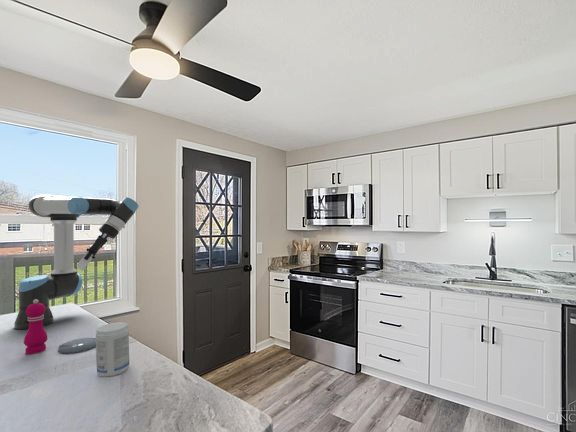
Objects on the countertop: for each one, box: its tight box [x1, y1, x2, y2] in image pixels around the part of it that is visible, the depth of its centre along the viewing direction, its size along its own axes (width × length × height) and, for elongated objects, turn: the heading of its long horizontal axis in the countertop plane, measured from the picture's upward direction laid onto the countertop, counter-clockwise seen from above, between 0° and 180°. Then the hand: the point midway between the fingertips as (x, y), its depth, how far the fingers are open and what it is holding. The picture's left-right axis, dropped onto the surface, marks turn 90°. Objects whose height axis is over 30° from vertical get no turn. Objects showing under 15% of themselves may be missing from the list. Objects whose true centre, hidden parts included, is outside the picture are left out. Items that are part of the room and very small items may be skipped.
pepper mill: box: [23, 299, 48, 355], centre depth 124 cm, size 7×7×20 cm
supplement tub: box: [95, 321, 130, 378], centre depth 105 cm, size 10×10×15 cm
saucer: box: [57, 337, 96, 355], centre depth 127 cm, size 14×14×1 cm
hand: (79, 268), depth 135 cm, fingers open, 13 cm apart
